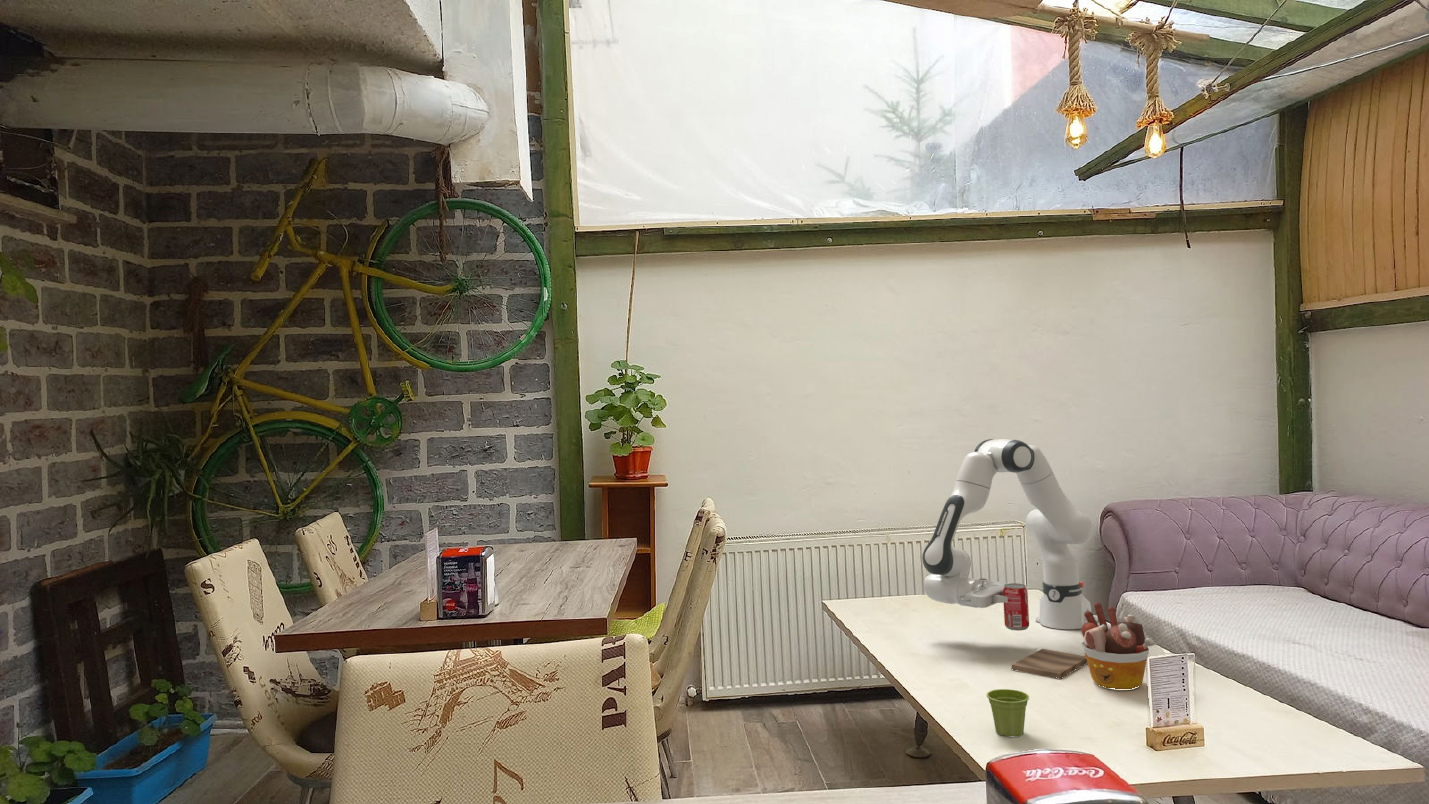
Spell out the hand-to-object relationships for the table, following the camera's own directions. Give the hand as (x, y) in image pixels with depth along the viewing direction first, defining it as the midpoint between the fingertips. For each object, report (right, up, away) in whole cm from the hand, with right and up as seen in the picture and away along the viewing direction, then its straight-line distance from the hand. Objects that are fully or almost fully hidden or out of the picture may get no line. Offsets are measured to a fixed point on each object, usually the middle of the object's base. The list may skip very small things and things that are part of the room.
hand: (1014, 598), depth 261 cm
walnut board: (+6, -16, -14) cm, 22 cm away
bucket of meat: (+16, -16, -31) cm, 39 cm away
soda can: (+1, -9, 0) cm, 9 cm away
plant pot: (-23, -17, -62) cm, 68 cm away
